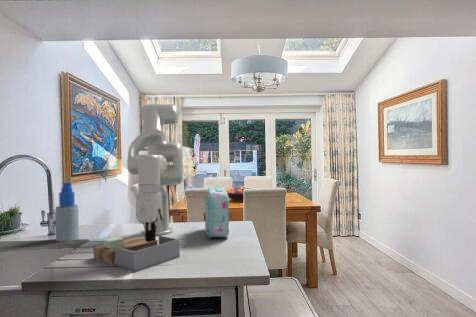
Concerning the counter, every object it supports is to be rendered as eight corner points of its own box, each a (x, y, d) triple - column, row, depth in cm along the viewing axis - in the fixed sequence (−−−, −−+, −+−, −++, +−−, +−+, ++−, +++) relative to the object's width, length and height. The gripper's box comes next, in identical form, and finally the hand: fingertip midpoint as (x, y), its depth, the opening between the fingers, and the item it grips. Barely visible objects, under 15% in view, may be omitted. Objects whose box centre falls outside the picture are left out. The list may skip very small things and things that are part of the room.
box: (114, 265, 99) (113, 246, 99) (159, 251, 114) (159, 235, 114) (134, 272, 93) (133, 252, 93) (179, 256, 107) (179, 239, 107)
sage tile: (102, 246, 107) (102, 239, 107) (115, 243, 111) (115, 236, 111) (110, 248, 104) (110, 241, 104) (123, 245, 108) (123, 238, 108)
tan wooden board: (93, 258, 107) (93, 246, 107) (138, 246, 122) (138, 236, 122) (112, 264, 100) (112, 252, 100) (157, 251, 114) (157, 240, 114)
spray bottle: (59, 242, 130) (58, 183, 131) (53, 239, 137) (52, 182, 137) (81, 238, 137) (80, 182, 137) (75, 235, 143) (74, 181, 143)
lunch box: (203, 228, 153) (202, 184, 153) (224, 226, 154) (223, 184, 155) (206, 241, 126) (205, 189, 127) (231, 240, 128) (230, 188, 128)
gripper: (128, 189, 111) (129, 240, 111) (154, 191, 102) (155, 246, 102) (145, 187, 117) (146, 236, 117) (171, 189, 108) (172, 241, 108)
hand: (150, 240), depth 110 cm, fingers closed
